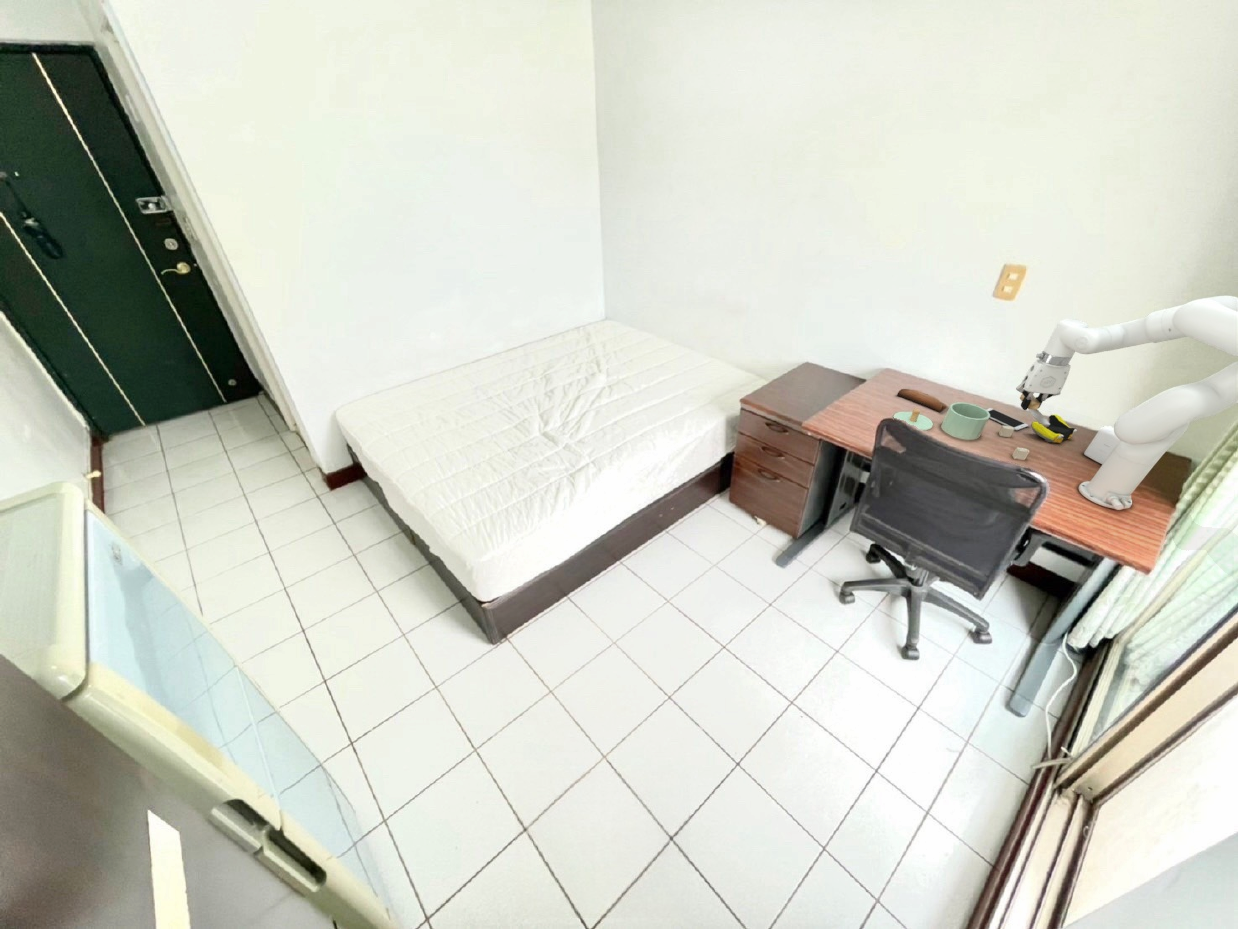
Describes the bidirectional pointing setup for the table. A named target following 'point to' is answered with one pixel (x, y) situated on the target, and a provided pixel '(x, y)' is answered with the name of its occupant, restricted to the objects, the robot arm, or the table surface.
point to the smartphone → (1006, 419)
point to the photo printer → (1102, 444)
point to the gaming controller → (1053, 430)
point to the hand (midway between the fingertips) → (1028, 408)
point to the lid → (915, 419)
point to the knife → (1035, 410)
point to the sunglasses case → (922, 399)
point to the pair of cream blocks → (1019, 452)
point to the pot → (965, 420)
